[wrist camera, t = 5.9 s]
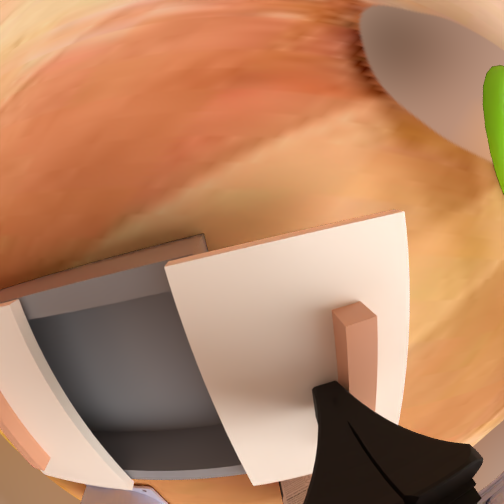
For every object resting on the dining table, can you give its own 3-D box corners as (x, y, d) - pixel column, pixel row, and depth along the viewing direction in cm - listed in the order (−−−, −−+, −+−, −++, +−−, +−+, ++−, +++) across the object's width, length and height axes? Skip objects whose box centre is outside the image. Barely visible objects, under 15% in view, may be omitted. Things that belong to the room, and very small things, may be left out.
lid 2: (252, 476, 13) (255, 503, 11) (168, 261, 10) (154, 279, 8) (389, 435, 13) (403, 457, 11) (393, 209, 10) (426, 215, 8)
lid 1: (47, 468, 13) (39, 485, 10) (-49, 316, 9) (-68, 329, 7) (134, 482, 13) (128, 505, 11) (18, 298, 10) (-9, 316, 8)
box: (66, 429, 18) (48, 465, 13) (-8, 292, 15) (-47, 315, 10) (257, 419, 18) (265, 470, 13) (203, 233, 15) (192, 253, 10)
